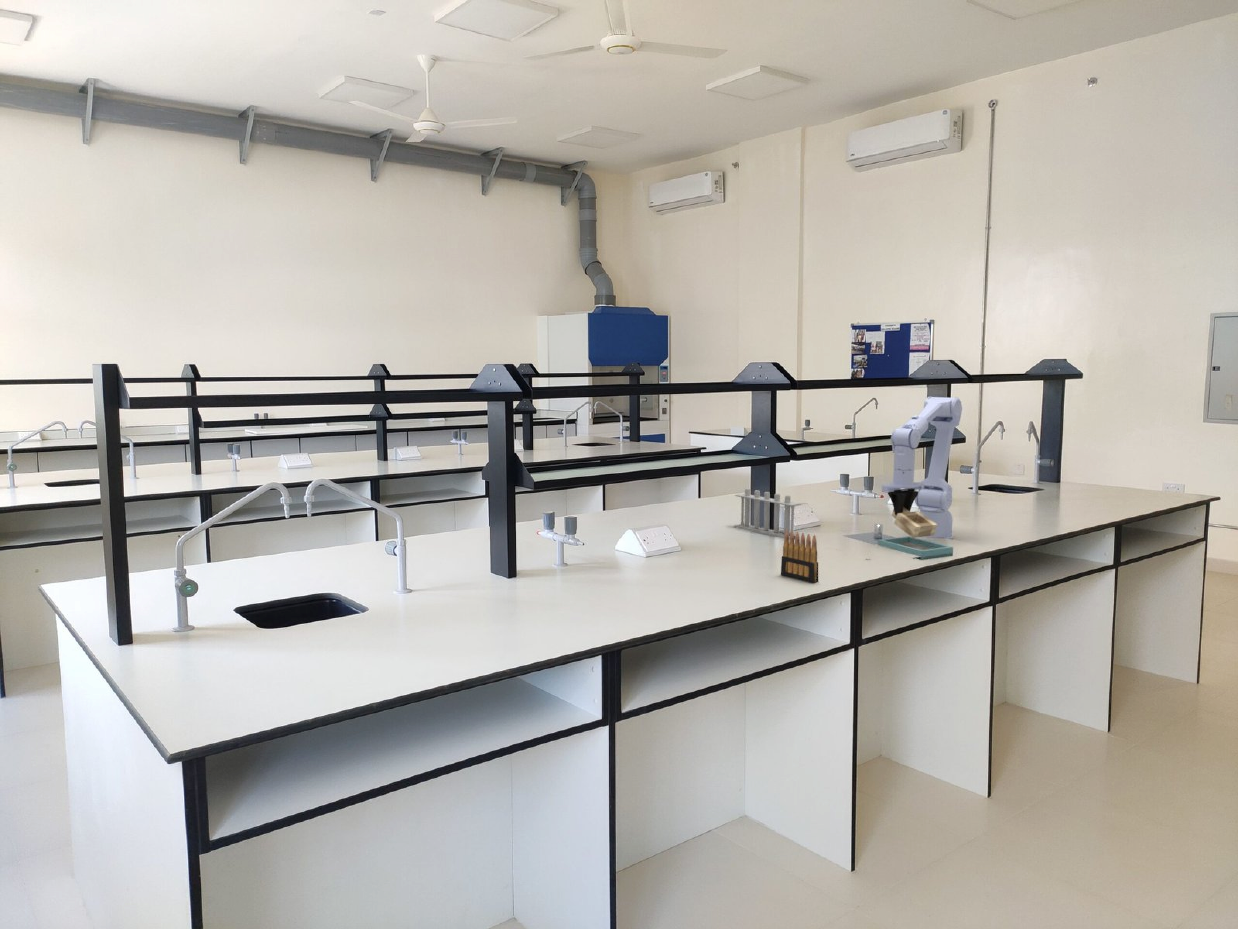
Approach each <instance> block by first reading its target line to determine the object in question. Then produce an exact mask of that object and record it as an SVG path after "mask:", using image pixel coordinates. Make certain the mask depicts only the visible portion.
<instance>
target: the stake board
mask: <svg viewBox="0 0 1238 929" xmlns="http://www.w3.org/2000/svg"><path fill="white" fill-rule="evenodd" d="M883 527H884V526H883V524H880V523H874V526H873V531H872V532H864V533H854V534H845V535H843V537H844V538H845V537H846V538H849V539H853V540H857V541H861V542H863V543H864V542H865V543H868V544H871V545H878V540H881V539H889V538H897V537H895V536H892V535H888V534H884V533H883Z"/></svg>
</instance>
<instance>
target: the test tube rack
mask: <svg viewBox="0 0 1238 929" xmlns="http://www.w3.org/2000/svg"><path fill="white" fill-rule="evenodd" d="M760 491H761V490H757V489H756V490H754V492H753V493H754V494H751V488H744V493H740V494H735V497H740V499H741V503H740V504H741V507H740V508H741V512H740V516H741V518H740V519H741V520H740V523H739V524H735V525H734V528H736V527H738V528H737V529H741V530H746V531H749V532H750V531H751V532H755V533H757V534H763V535H768V536H772V537H777V538H782V539H784V536H785V531H786V530H788V534H789V540H790V534H791V531H793V532H794V526H795V522H794V519H795V507H796V506H801V502H800V503H799V502H794V501H791V495H784V500H782V499H781V494H780V493H774V495H773V496H774V498H771V494H770V491H765V492H764V494H763V495H764V496H761V492H760ZM751 500H753V501H754V507H753V525H752V524H750V523H751V522H750V521H751V519H750V518H751ZM760 502H763V503H764V504H763V527H761V528H760V513H761V512H760V511H761V510H760V509H761V508H760V506H761V503H760ZM770 503H772V504H774V505H773V506H774V507H773V529H770V510H771V509H770V507H771V506H770V505H771V504H770ZM781 505H783V506H784V514H783V515H784V517H783V518H784V520H783V532H782V531H780V519H781V518H780V517H781V516H780V512H781V510H780V509H781V508H780V507H781ZM795 536H796V535H794V540H795ZM799 538H800V539H801V536H799Z"/></svg>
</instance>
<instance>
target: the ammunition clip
mask: <svg viewBox="0 0 1238 929" xmlns="http://www.w3.org/2000/svg"><path fill="white" fill-rule="evenodd" d="M790 533H791V534H790ZM790 533H789V534H790V539H789V534H788V530H786V531H785V536H784V538H783V544H782V545H783V546H782V555H781V567H780V576H783V577H787V578H791V579H795V580H799V581H802V582H808V583H811V584H816V583H817V584H818V583H819V562H818V545H817V542H818V541H817V536H816V535H815V534H814V535H813V536H812V540H811V535H810V534H809V533H808V534H807V536H806V537H805V533H804V532H802V533H801V535H800V534H799V531H796V533H794V530H793V531H791V530H790ZM794 536H795V539H794ZM799 537H800V538H799Z"/></svg>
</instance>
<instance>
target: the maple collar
mask: <svg viewBox="0 0 1238 929" xmlns="http://www.w3.org/2000/svg"><path fill="white" fill-rule="evenodd" d="M891 517H893V518H894V519H895V520H894V523H893V524H894V525H895V526H896V527H898V528H899V529H900V530H901V531H903V532H904V533H905V534H907V535H908V536H910V537H913V538H922V537H923V538H924V536H932V535H934V534H935V531H936V528H937V524H936V523H934V522H933V521H932V520H930V519H929V518H927V517H926V516H924V515H923V514H921V513H920V510H917V511H911V510H910V511H909V510H907V509H906V508H904V507H903V513H897V515H895V511H894V508H893V510H892V513H891Z"/></svg>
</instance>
